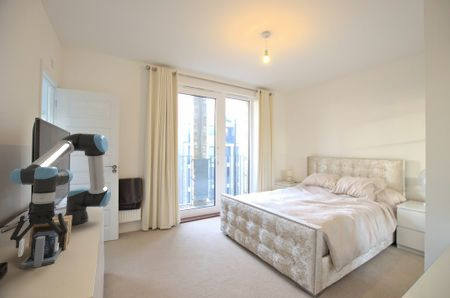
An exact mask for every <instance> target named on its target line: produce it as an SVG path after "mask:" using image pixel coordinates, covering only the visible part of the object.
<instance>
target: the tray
mask: <svg viewBox="0 0 450 298" xmlns="http://www.w3.org/2000/svg"><path fill="white" fill-rule="evenodd" d="M44 246H45V236H41V237H38V238H37V239H36V247H35V258H34V260H31V253H30V255H27V257H26V258H25V259H24V261H22V263H20V270H22V269H27V268H38V267H42V266H46V265H52V264H55V263H56V261H57V260H58V258H59V257H60V254H61V252H62V250H63V246H59V249H58V250H57V251H56V252H55V254H54V256H53V257H47V258H43V257H44Z"/></svg>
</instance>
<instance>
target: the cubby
mask: <svg viewBox="0 0 450 298" xmlns="http://www.w3.org/2000/svg"><path fill="white" fill-rule="evenodd" d="M64 215H65V214H64ZM64 215H63V219H64V221H65V224H66V227H67V229H68V232H67V233H66V234H63V236H62V241H61V243H62V244H63V250H64V251H66V250H67V248H68V246H69V244H70V242H71V236H72V226H73V225H72V215H65V216H64ZM52 219H53V220H54V222H55V223H56V224H57V226H58V227H59V228H60V229H61V230H62V228H61V226H60V223H59V220H58V218H57V217H56V216H54V217H53V218H52ZM47 231H54V230H53V229H52V227H51V226H50V225H48V223H46V224H34V225H33V226H32V227H31V228H30V230H29V243H28V251H27V252H28V253H27V254H28V255H27V256H29V255H30V253H31V251H32V242H33V236H34V235H35V234H36V233H37V232H47ZM61 243H60V244H61Z"/></svg>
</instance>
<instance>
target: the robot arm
mask: <svg viewBox="0 0 450 298" xmlns="http://www.w3.org/2000/svg"><path fill="white" fill-rule="evenodd" d="M108 149H109V142H108V138H107V137H106V136H105V135H103V134H95V133H78V132H77V133H73V134H69V135H67V136H65V137H63V138H61V139H59V140H58V141H57V142H56V143H55V146H53V147H52V148H50V149H49V150H48V151H46V152H45V153H44V154H43V155H41V156H40V157H38V158H37V159H36V160H35V161H33V162H32V163H31V164H29V165H28V166H26V167H25V168H23V167H21V168H16V169H14V170H12V171H11V173H10V174H9V176H10V177H9V179H10V182H11V183H12V184H14V185H23V186H27V185H28V186H29V185H30V186H33V191H32V198H31V199H32V200H31V202H32V203H31V208H30V214H23V215H21V216H20V217H19V222H18V223H17V225H16V227H15V228H14V230H13V232H12V234H11V236H10V238H9V240H10V241H15V248H16V249H18V253H17V257H18V258H19V257H20V258H21V257H22V256H23V255H24V250H25V238H23V237H25V235H26V234H27V233H28V232H30V229H31V227H32V226H33V225H34V224H46V223H48V225H50V226H51V227H52V229H53V230H54V231H55V232H56V233H57V234H58V235H57V236H56V242H55V252H56V251H57V250H58V249H59V247H60V246H59V245H60V244H61V241H62V236H63V234H66V233H67V232H68V229H67V227H66V224H65V221H64V219H63V216H65V215H72V225H71V226H74V225H81V224H85V223H87V222H88V221H89V218H90V217H89V214H88V211H87V208H93V207H94V208H101V207H103V208H105V207H107V205H109V203H110V201H111V196H112V191H111V190H109V189H108V186H106V185H105V169H104V155H106V153H107V152H108ZM79 151H80V152H84V156H85V157H87V163H88V173H89V174H88V177H89V186H90V188H88V187H82V188H73V189H71V190H68V192H67V195H66V206H65V207H66V208H65V209H66V210H65V213H64V212H63V211H60V212H55V207H56V202H55V201H56V195H57V194H56V192H57V186H63V185H66V184H68V183H71V181H73V178H74V175H73V172H72V171H71V170H70V169H66V168H65V169H64V168H61V169H59V168H58V167H56V165H57V164H58V163H60V161H62V160H63V159H64V158H65V157H66V156H68V155H70V154H72V153H74V152H79ZM54 216H56V217H57V218H58V220H59V223H60V226H61V228H62V230H61V229H60V228H59V227H58V226H57V224H56V223H55V222H54V220H53V219H52V218H53V217H54ZM27 220H30V221H31V222H30V223H29V224H28V225H27V227H26V228H25V229H24V230H23V231H22V232H21V230H22V227H23V226H24V224H25V223H26V221H27ZM20 232H21V233H20ZM19 233H20V234H19Z"/></svg>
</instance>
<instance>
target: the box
mask: <svg viewBox="0 0 450 298" xmlns="http://www.w3.org/2000/svg"><path fill="white" fill-rule="evenodd" d="M57 235H58V234H57V233H56V232H55V231H47V232H37V233H36V234H35V235H34V236H33V242H32V251H31V260H34V258H35V247H36V239H37V238H38V237H41V236H45V246H44V257H43V258H47V257H53V256H54V254H55V242H56V236H57Z"/></svg>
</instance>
